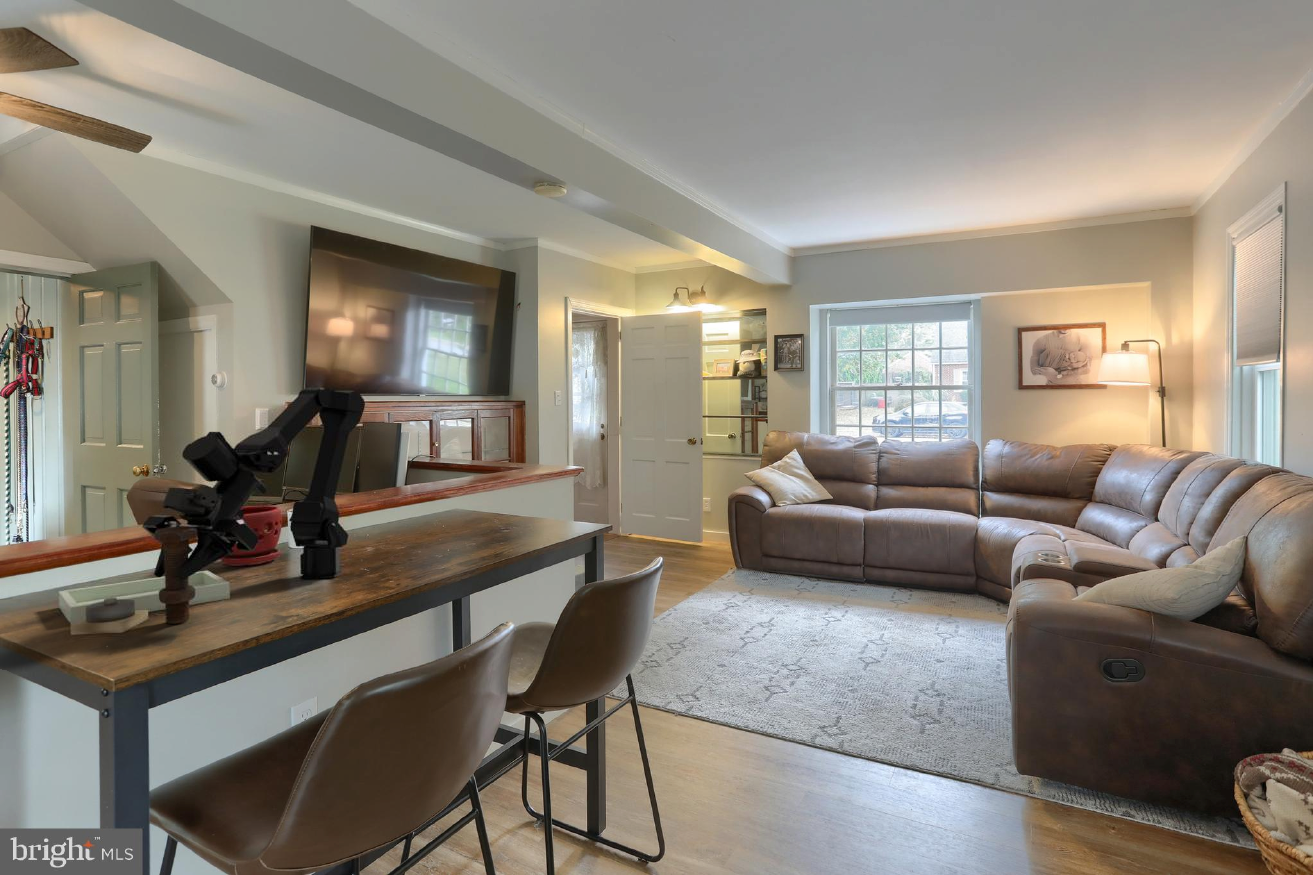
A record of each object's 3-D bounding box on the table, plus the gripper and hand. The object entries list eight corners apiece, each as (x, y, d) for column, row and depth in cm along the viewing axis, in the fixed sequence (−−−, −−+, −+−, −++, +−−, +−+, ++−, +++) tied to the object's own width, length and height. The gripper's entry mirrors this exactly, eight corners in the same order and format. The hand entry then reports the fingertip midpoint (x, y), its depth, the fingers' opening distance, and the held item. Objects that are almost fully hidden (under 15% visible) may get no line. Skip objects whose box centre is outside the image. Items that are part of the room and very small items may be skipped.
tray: (207, 584, 134) (207, 570, 134) (229, 598, 125) (229, 582, 125) (59, 607, 118) (58, 591, 118) (71, 625, 109) (70, 607, 109)
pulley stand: (148, 618, 112) (147, 592, 112) (122, 632, 105) (122, 604, 105) (99, 620, 111) (99, 594, 111) (70, 634, 104) (70, 606, 104)
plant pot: (238, 555, 162) (237, 504, 161) (293, 556, 161) (293, 505, 161) (199, 568, 149) (198, 513, 148) (259, 569, 148) (258, 513, 148)
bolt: (174, 628, 107) (173, 532, 107) (147, 626, 108) (145, 531, 108) (206, 617, 113) (204, 526, 112) (180, 615, 114) (178, 525, 113)
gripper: (151, 467, 116) (84, 544, 106) (243, 470, 111) (182, 551, 101) (194, 507, 124) (136, 583, 114) (281, 512, 119) (228, 591, 109)
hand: (168, 577), depth 109 cm, fingers closed on bolt, 4 cm apart
